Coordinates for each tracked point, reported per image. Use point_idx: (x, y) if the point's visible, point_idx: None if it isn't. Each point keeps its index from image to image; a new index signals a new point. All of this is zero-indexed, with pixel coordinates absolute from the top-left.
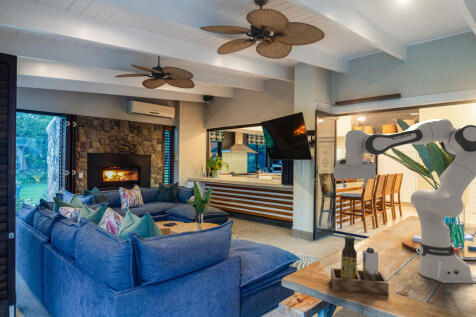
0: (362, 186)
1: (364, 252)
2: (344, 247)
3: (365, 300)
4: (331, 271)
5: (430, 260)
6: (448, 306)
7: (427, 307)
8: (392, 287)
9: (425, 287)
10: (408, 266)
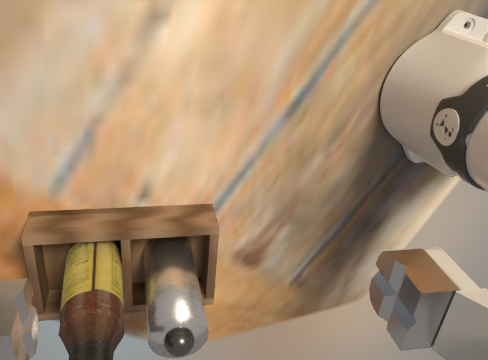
0: (390, 276)
1: (154, 345)
2: (68, 353)
3: (136, 316)
4: (26, 259)
5: (433, 153)
6: (330, 289)
7: (279, 306)
8: (237, 226)
9: (336, 203)
10: (386, 11)
